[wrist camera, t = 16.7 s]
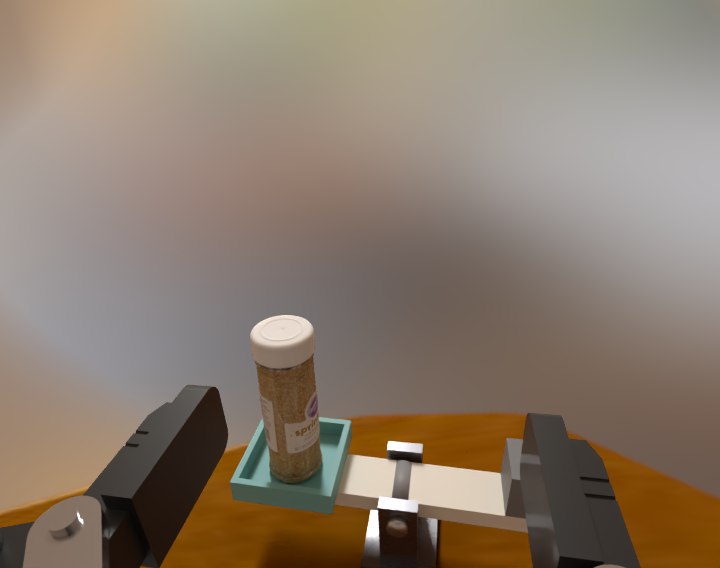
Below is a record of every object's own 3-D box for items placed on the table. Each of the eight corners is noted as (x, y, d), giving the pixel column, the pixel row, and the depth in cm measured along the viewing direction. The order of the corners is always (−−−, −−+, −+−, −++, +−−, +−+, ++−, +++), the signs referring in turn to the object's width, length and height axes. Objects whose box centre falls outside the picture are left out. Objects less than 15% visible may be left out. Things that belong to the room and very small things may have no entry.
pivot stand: (438, 499, 45) (440, 440, 41) (435, 584, 38) (437, 522, 34) (375, 492, 46) (372, 434, 42) (361, 573, 39) (356, 512, 35)
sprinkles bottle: (319, 486, 38) (308, 347, 31) (263, 484, 38) (241, 346, 32) (326, 443, 42) (317, 312, 36) (275, 441, 42) (258, 311, 36)
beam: (555, 476, 41) (567, 426, 38) (576, 566, 34) (593, 513, 31) (270, 441, 45) (263, 394, 42) (236, 514, 38) (226, 463, 35)
